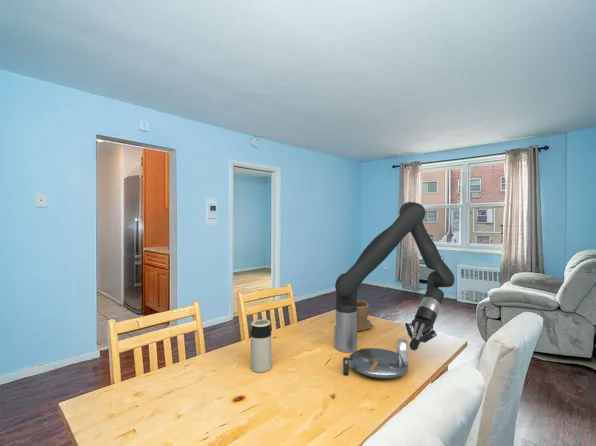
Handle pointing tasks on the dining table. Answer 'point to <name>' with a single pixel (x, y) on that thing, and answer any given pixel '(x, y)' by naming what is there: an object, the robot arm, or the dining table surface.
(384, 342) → the dining table surface
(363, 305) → the stone cup
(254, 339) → the travel mug
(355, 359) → the turntable
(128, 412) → the dining table surface
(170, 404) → the dining table surface
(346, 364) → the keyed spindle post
